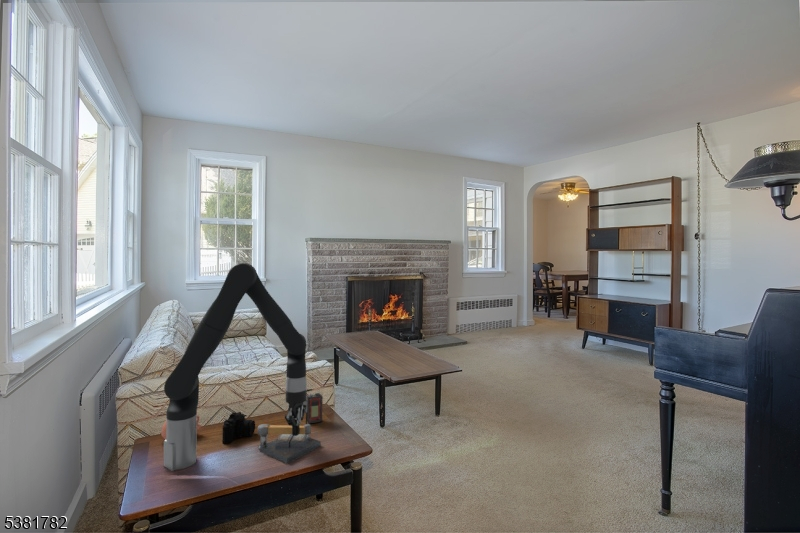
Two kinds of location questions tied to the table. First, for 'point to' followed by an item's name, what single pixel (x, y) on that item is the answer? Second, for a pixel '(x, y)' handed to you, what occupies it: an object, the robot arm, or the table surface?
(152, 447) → the table surface
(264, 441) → the post
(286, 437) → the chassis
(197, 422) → the sugar bowl
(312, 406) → the walkie-talkie
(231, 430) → the film camera
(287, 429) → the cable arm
